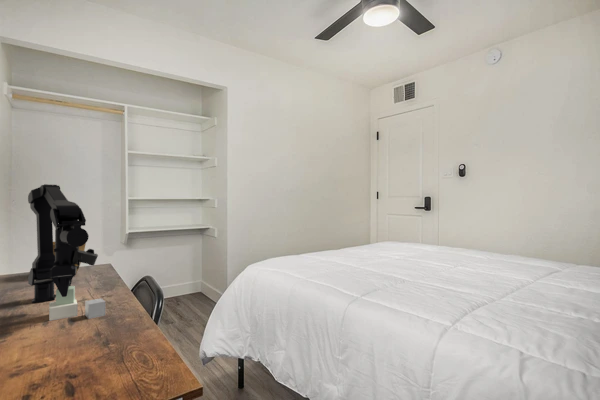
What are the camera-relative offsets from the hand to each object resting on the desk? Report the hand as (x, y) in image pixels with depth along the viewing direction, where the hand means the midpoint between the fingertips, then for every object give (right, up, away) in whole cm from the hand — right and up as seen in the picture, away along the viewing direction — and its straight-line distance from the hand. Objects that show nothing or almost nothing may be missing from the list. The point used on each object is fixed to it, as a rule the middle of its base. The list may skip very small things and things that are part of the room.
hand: (66, 292), depth 103 cm
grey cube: (+10, -7, -1) cm, 12 cm away
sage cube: (0, -3, 0) cm, 3 cm away
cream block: (0, -7, -1) cm, 7 cm away
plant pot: (-37, -7, +52) cm, 65 cm away
